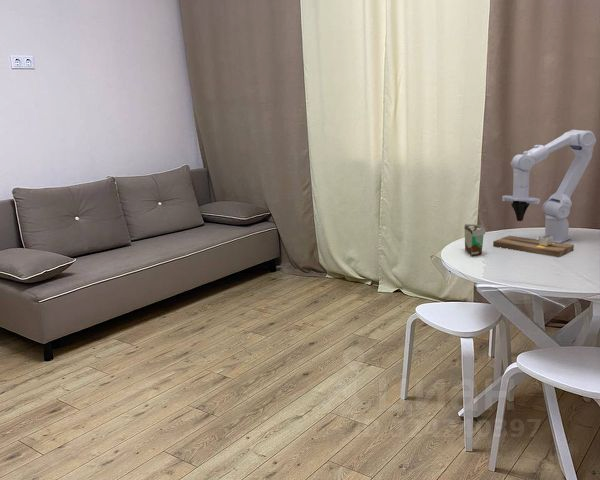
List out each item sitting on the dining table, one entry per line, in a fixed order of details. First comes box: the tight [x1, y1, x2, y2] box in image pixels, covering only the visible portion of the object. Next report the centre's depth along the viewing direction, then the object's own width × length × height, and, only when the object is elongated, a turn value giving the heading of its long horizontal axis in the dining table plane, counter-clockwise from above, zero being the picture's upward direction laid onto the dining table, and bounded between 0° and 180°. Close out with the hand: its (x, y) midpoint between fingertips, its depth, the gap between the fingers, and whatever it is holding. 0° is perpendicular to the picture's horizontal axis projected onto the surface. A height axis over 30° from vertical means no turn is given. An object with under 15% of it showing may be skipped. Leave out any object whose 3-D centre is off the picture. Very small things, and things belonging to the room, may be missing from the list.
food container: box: [463, 223, 486, 257], centre depth 224 cm, size 12×6×10 cm, turn 179°
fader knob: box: [539, 234, 553, 246], centre depth 223 cm, size 4×3×3 cm
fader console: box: [492, 235, 575, 258], centre depth 227 cm, size 12×26×2 cm, turn 42°
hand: (519, 220), depth 232 cm, fingers closed
